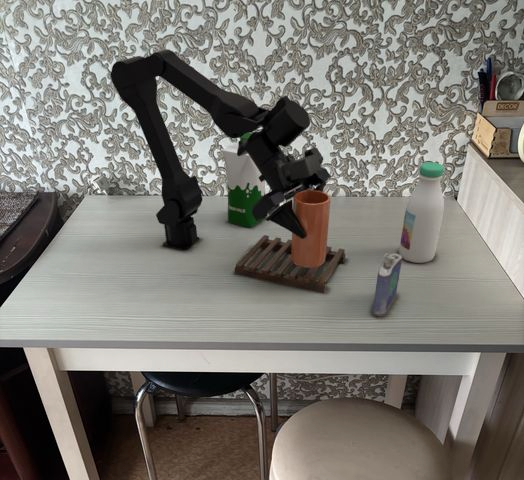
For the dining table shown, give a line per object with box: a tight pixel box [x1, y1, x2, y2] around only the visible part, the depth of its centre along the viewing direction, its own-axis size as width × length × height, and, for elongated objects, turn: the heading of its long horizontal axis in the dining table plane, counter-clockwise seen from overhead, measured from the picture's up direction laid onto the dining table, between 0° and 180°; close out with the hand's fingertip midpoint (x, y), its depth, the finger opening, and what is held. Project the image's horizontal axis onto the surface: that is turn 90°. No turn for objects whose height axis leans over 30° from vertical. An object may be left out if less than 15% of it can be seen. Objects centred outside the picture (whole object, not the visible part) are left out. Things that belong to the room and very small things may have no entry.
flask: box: [372, 252, 403, 318], centre depth 100 cm, size 9×3×11 cm, turn 151°
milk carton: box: [221, 132, 267, 229], centre depth 129 cm, size 9×9×20 cm
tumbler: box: [290, 190, 331, 268], centre depth 104 cm, size 7×7×13 cm
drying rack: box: [234, 234, 347, 294], centre depth 115 cm, size 20×15×2 cm
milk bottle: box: [398, 161, 445, 264], centre depth 112 cm, size 8×8×20 cm
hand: (315, 230), depth 103 cm, fingers closed on tumbler, 7 cm apart
